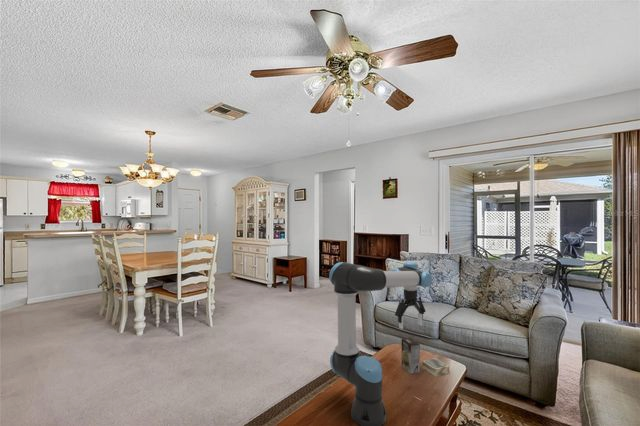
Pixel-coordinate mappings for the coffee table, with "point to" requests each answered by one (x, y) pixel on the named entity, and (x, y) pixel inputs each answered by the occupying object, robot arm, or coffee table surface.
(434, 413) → the coffee table surface
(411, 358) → the coffee box
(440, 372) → the square framed mirror
